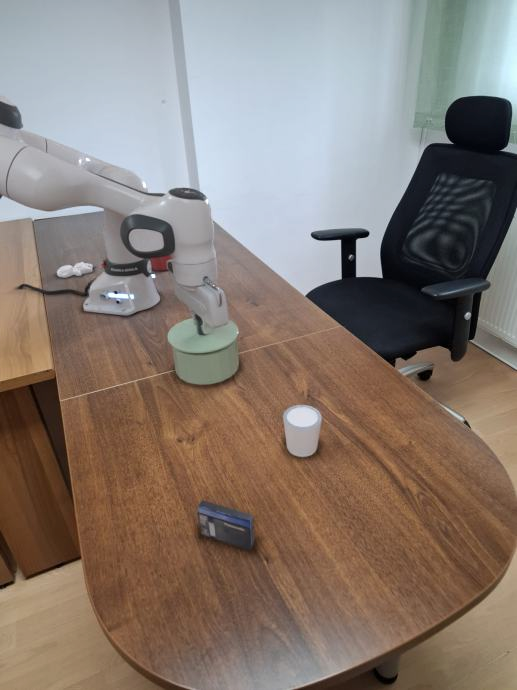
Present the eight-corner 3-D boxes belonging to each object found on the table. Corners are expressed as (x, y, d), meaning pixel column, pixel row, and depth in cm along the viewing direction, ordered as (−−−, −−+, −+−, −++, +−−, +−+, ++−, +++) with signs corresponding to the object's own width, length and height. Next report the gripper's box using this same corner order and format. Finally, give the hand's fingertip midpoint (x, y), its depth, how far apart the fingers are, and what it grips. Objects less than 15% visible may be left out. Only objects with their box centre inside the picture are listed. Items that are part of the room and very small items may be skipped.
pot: (177, 390, 101) (172, 360, 97) (175, 355, 114) (170, 326, 110) (243, 381, 103) (241, 351, 99) (234, 347, 116) (231, 319, 112)
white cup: (310, 464, 81) (311, 434, 78) (276, 450, 84) (275, 421, 81) (326, 441, 86) (328, 411, 82) (294, 428, 89) (294, 399, 86)
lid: (185, 363, 95) (181, 340, 92) (157, 332, 106) (153, 310, 104) (251, 341, 102) (250, 318, 99) (218, 314, 113) (217, 293, 110)
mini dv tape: (200, 534, 70) (196, 507, 67) (205, 526, 71) (201, 499, 68) (251, 550, 67) (249, 523, 64) (255, 542, 68) (253, 515, 65)
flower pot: (141, 270, 162) (136, 243, 157) (158, 259, 170) (154, 234, 165) (167, 274, 158) (163, 246, 153) (184, 262, 167) (180, 236, 162)
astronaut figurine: (92, 275, 160) (90, 266, 159) (55, 279, 158) (53, 270, 157) (94, 266, 167) (92, 258, 166) (59, 269, 166) (57, 261, 164)
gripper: (234, 282, 90) (238, 344, 97) (189, 253, 104) (195, 308, 112) (204, 291, 87) (211, 353, 94) (162, 259, 102) (171, 315, 109)
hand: (202, 328), depth 103 cm, fingers closed on lid, 2 cm apart
